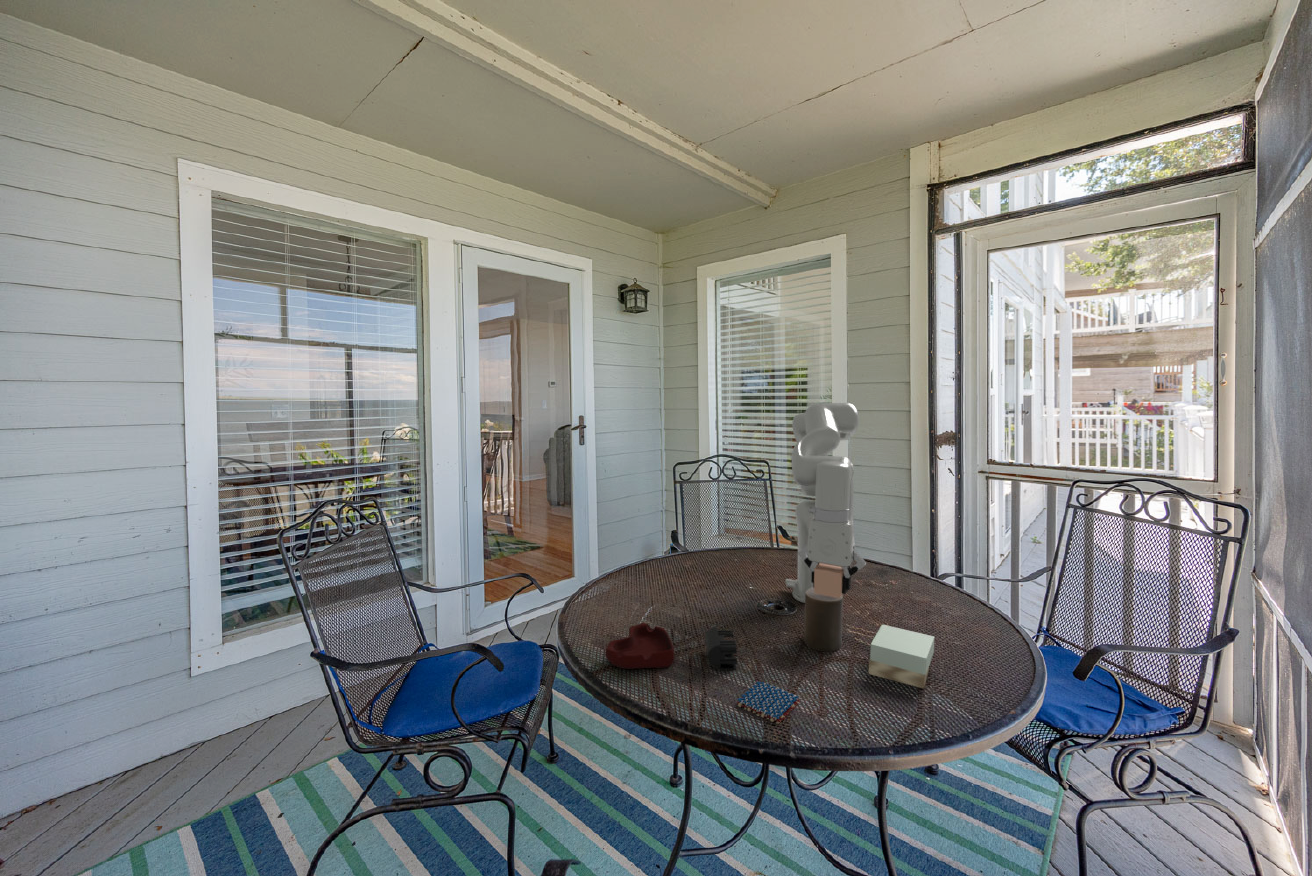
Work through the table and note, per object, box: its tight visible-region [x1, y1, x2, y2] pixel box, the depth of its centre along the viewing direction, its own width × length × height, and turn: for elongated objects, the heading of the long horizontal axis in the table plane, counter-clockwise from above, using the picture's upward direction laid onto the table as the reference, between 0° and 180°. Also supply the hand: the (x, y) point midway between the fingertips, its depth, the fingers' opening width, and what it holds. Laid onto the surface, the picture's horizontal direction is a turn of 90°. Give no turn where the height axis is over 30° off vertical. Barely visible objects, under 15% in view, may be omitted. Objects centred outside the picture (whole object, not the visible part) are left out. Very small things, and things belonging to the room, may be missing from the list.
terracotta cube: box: [814, 563, 844, 598], centre depth 126 cm, size 6×6×6 cm
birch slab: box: [868, 658, 931, 689], centre depth 130 cm, size 12×12×4 cm
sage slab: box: [869, 624, 935, 675], centre depth 130 cm, size 12×12×4 cm
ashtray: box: [604, 622, 675, 670], centre depth 138 cm, size 18×16×5 cm
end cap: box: [704, 626, 738, 671], centre depth 136 cm, size 10×7×7 cm
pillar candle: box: [803, 588, 844, 653], centre depth 143 cm, size 10×10×15 cm
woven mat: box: [736, 681, 801, 724], centre depth 118 cm, size 10×11×2 cm
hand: (830, 588), depth 127 cm, fingers closed on terracotta cube, 6 cm apart
